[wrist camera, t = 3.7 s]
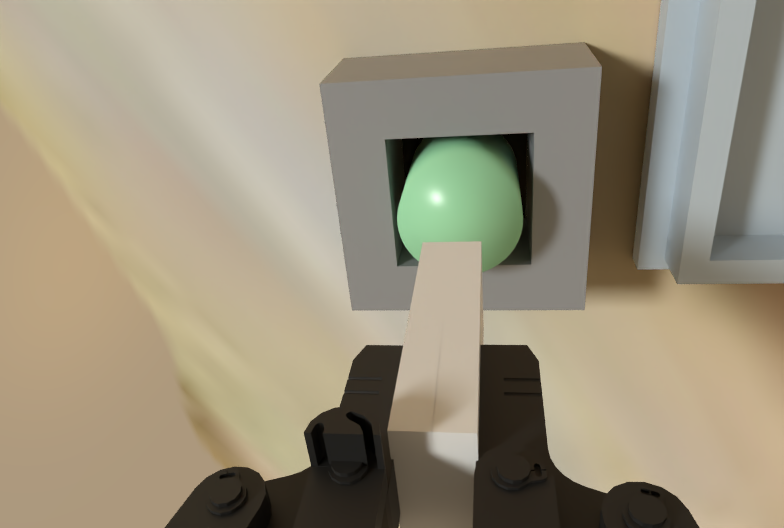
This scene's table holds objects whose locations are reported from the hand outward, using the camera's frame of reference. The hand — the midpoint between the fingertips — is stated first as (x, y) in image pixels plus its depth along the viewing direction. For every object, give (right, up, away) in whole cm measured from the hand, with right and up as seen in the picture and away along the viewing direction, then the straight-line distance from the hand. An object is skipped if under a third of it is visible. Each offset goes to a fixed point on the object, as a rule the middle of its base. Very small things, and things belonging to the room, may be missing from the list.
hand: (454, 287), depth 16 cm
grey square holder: (+1, +5, +9) cm, 10 cm away
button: (+1, +4, +8) cm, 9 cm away
